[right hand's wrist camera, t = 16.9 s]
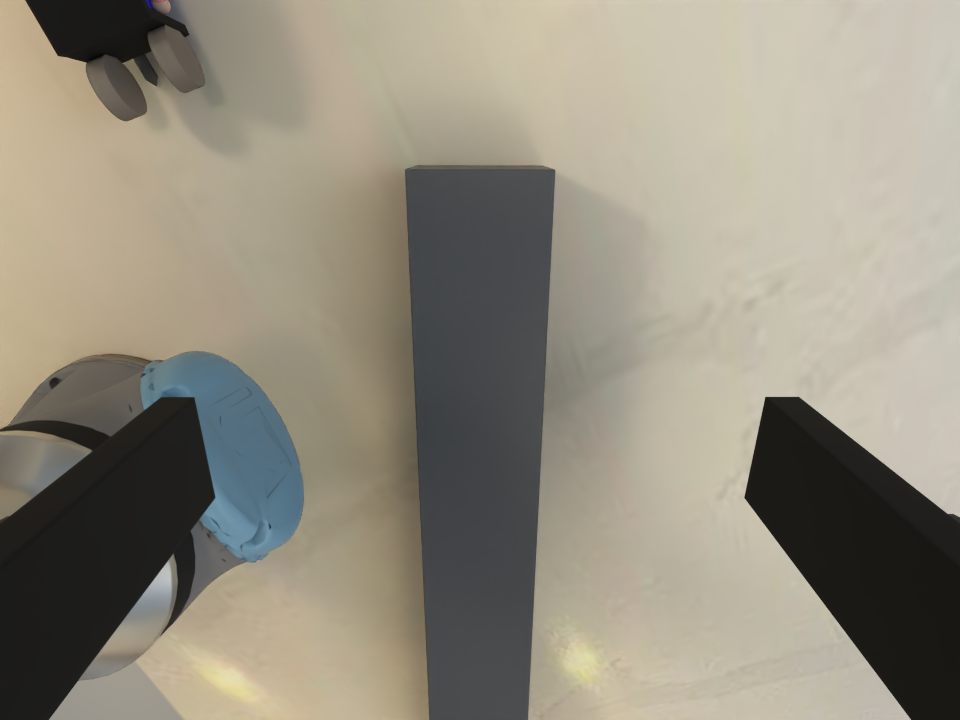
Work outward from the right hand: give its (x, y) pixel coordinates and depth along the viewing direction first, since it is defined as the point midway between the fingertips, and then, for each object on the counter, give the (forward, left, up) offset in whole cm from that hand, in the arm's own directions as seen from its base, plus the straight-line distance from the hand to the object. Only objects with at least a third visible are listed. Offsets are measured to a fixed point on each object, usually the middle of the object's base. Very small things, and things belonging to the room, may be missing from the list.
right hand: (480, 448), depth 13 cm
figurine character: (-28, +3, -31) cm, 42 cm away
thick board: (+12, -21, -31) cm, 39 cm away
